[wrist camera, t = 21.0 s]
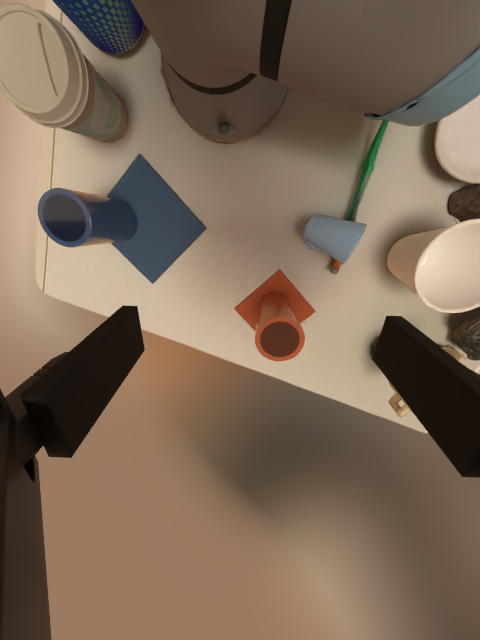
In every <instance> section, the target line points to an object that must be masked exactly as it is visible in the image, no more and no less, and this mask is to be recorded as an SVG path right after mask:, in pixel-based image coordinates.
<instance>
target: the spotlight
mask: <svg viewBox="0 0 480 640" xmlns="http://www.w3.org/2000/svg"><path fill="white" fill-rule="evenodd" d="M365 228H366V224H362V223H357V222H352V221H347V220H342V219H337V218H332V217H327V216H322V215H317V214H315V215H314V216H313V217H312V218H311V219H310V220H309V221H308V222H307V223H306V225H305V226H304V229H303V240H304V242H305V243H306V245H307V246H309V247H310V248H311V249H316V250H323V251H325V252H326V253H327V254H329V255H330V256H331V257H333V258H334V259H336V260H337V261H338V262H340V263H341V264H342V265H343V264H344V263H345V262H346V261H347V259H348V258H349V256H350V255H351V253H352V252H353V250H354V248H355V247H356V245H357V243H358V242H359V240H360V238H361V236H362V234H363V232H364V230H365Z"/></svg>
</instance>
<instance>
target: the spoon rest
mask: <svg viewBox="0 0 480 640" xmlns="http://www.w3.org/2000/svg"><path fill="white" fill-rule="evenodd" d="M434 146H435V154H436V157H437V160H438V162H439V164H440V166H441V167H442V168H443V169H444V170H445V171H446V172H447V173H448V174H449V175H451V176H452V177H454V178H456V179H458V180H460V181H463V182H468V183H477V184H480V95H479V96H477V97H476V98H475V99H473V100H472V101H471V102H469V103H468V104H466V105H465V106H463V107H462V108H460V109H459V110H457V111H456V112H454V113H452V114H451V115H449V116H447V117H445V118H443V119H441V120H439V121H438V124H437V128H436V133H435V142H434Z"/></svg>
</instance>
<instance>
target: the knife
mask: <svg viewBox="0 0 480 640" xmlns="http://www.w3.org/2000/svg"><path fill="white" fill-rule="evenodd" d="M388 122H389V121H388V120H385V119H384V120H383V122H382V124H381V126H380V128H379V130H378V132H377V134H376V136H375V138H374V140H373V142H372V144H371V146H370V149H369V151H368V153H367V155H366V158H365V160H364V163H363V165H362V169H361V174H360V179H359V183H358V186H357V190H356V193H355V196H354V199H353V202H352V205H351V208H350V211H349V213H348V216H347V219H346V220H347V221H352V222H355V220H356V214H357V210H358V206H359V204H360V201H361V198H362V196H363V193H364V191H365V188H366V185H367V183H368V180H369V178H370V175H371V173H372V171H373V169H374V163H375V158H376V155H377V152H378V149H379V146H380V143H381V140H382V137H383V135H384V132H385V129H386V127H387V124H388ZM340 266H341V263H340V262H338V261H337V260H336V259H334V258H333V260H332V262H331V263H330V266H329V270H330V272H331V273H332V274H337V273H338V271H339V268H340Z"/></svg>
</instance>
